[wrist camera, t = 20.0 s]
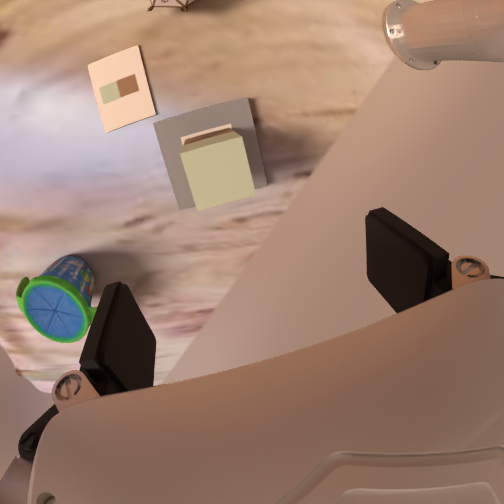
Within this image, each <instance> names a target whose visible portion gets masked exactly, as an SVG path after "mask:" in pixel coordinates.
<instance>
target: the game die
mask: <svg viewBox="0 0 504 504" xmlns="http://www.w3.org/2000/svg"><path fill="white" fill-rule="evenodd" d="M150 1H151V4H152V6H151V7H150V8H148V11H152V9H153V7H182V8H181V9H182V11H184V12H187V11H188V7H187V6H188V5H190V4H191V3H193V2H194V1H196V0H150ZM148 11H147V12H148Z"/></svg>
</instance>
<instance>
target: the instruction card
mask: <svg viewBox="0 0 504 504" xmlns="http://www.w3.org/2000/svg"><path fill="white" fill-rule="evenodd" d="M88 69H89V73H90V77H91V81H92V85H93V89H94V93H95V97H96V101H97V105H98V108H99V112H100V115H101V119H102V122H103V126H104V129H105V132H106V133H107V132H110V131H112V130H115V129H117V128H120V127H122V126H125V125H128V124H130V123H133V122H136V121H139V120H142V119H144V118H147V117H150V116H153V115H156V112H155V108H154V105H153V101H152V97H151V94H150V90H149V86H148V82H147V78H146V74H145V70H144V67H143V63H142V58H141V54H140V50H139V46H138V45H137V46H134V47H131V48H128V49H126V50H123V51H121V52H118V53H115V54H113V55H110V56H108V57H106V58H103V59H101V60H98V61H96V62H94V63H92V64H89V65H88Z"/></svg>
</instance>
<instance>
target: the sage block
mask: <svg viewBox="0 0 504 504" xmlns="http://www.w3.org/2000/svg"><path fill="white" fill-rule="evenodd" d="M180 156H181V159H182V163H183V166H184V169H185V173H186V176H187V179H188V182H189V186H190V189H191V192H192V195H193V199H194V202H195V205H196V208H197V211H200V210H203V209H207V208H210V207H213V206H217V205H220V204H224V203H227V202H231V201H234V200H238V199H242V198H245V197H249V196H253V195H256V193H255V189H254V184H253V180H252V176H251V172H250V167H249V163H248V159H247V155H246V151H245V147H244V142H243V138H242V136H240V135H239V134H237V133H236V132H234V131H233V132H229V133H225V134H221V135H217V136H214V137H210V138H207V139H203V140H199V141H196V142H193V143H189V144H186V145H183V146H182V149H181V152H180Z"/></svg>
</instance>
